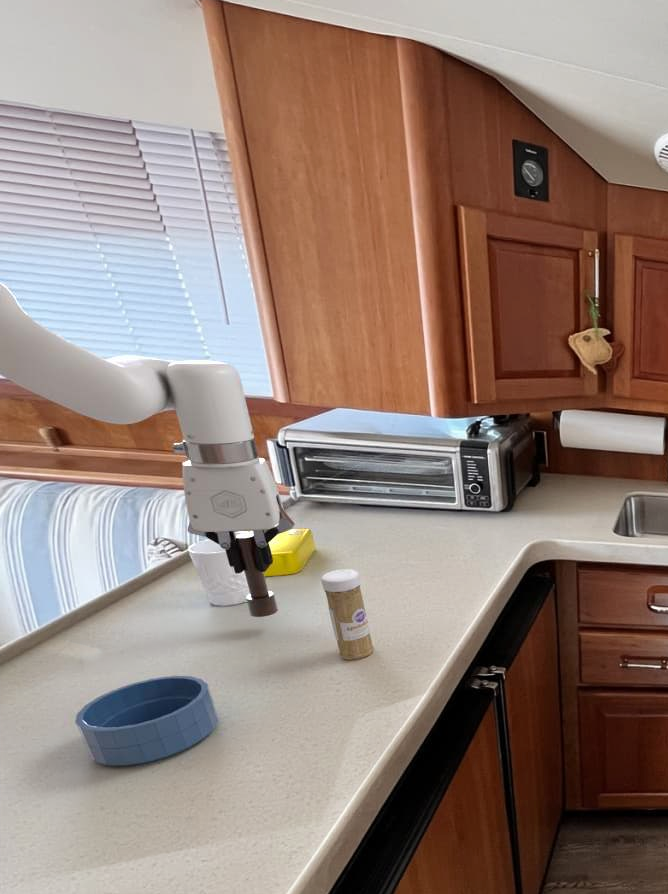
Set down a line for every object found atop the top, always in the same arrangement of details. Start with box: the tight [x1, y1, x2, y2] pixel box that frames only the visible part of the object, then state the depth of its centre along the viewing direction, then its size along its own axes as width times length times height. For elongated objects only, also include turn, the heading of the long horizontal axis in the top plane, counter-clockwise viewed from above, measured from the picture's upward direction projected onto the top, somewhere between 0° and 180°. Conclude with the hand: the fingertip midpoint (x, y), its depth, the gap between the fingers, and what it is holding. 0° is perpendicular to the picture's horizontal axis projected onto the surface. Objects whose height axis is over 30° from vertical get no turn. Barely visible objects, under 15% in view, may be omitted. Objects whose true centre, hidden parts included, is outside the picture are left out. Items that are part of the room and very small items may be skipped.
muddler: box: [235, 533, 279, 618], centre depth 98 cm, size 3×3×13 cm
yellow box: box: [235, 528, 316, 578], centre depth 123 cm, size 15×15×5 cm
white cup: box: [187, 538, 250, 607], centre depth 109 cm, size 8×8×10 cm
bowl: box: [74, 675, 219, 766], centre depth 77 cm, size 11×11×6 cm
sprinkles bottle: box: [321, 568, 375, 661], centre depth 96 cm, size 5×5×14 cm
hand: (253, 568), depth 98 cm, fingers closed on muddler, 2 cm apart
